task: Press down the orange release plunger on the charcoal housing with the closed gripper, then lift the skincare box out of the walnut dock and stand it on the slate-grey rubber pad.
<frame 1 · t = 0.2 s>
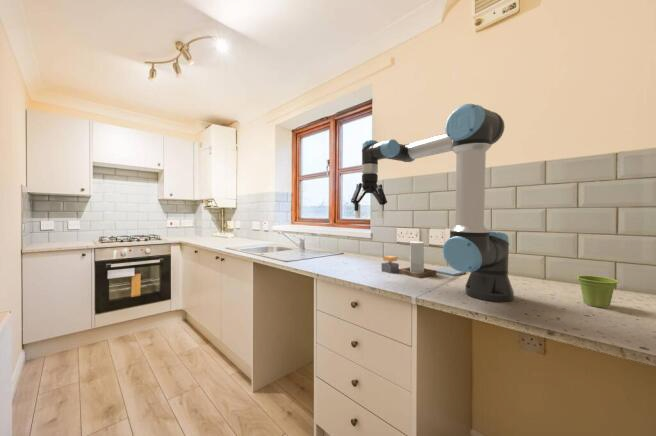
hand: (369, 217, 131), 27 cm above the countertop, tool pointing down, fingers open, 13 cm apart
walnut dock: (416, 273, 134), on the countertop
plant pot: (596, 305, 89), on the countertop
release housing: (390, 271, 139), on the countertop
skincare box: (416, 273, 134), resting in walnut dock
rubber pad: (449, 272, 136), on the countertop
plunger: (390, 262, 139), point 4 cm above the countertop, slide at 0.0 cm
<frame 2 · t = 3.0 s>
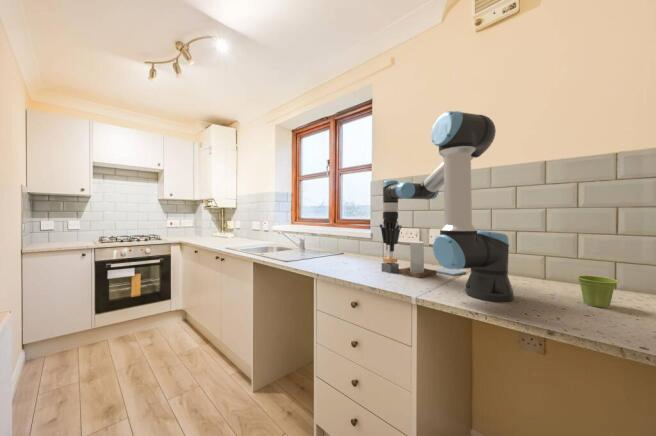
hand: (390, 257, 139), 7 cm above the countertop, tool pointing down, fingers closed
plunger: (390, 263, 139), point 4 cm above the countertop, slide at 0.8 cm, touching gripper
everything else where it was.
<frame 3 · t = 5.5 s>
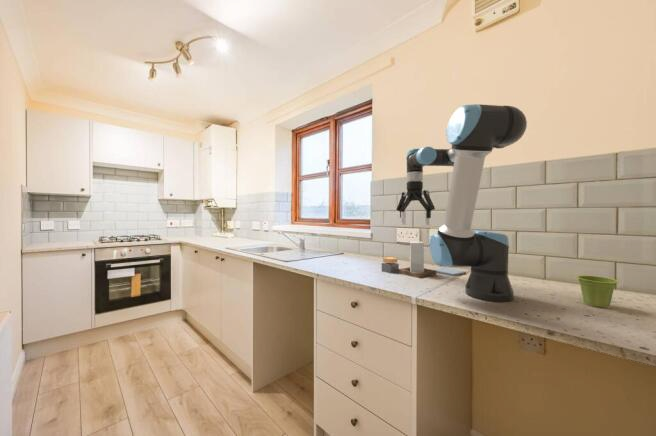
hand: (414, 224, 133), 24 cm above the countertop, tool pointing down, fingers open, 13 cm apart
plunger: (390, 264, 139), point 4 cm above the countertop, slide at 0.8 cm
everything else where it was.
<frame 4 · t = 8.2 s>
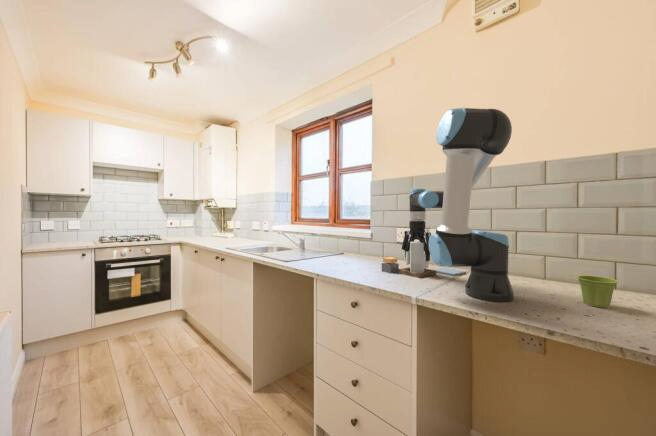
hand: (416, 265, 134), 4 cm above the countertop, tool pointing down, fingers closed on skincare box, 10 cm apart
skincare box: (416, 273, 134), resting in walnut dock, touching gripper
everything else where it was.
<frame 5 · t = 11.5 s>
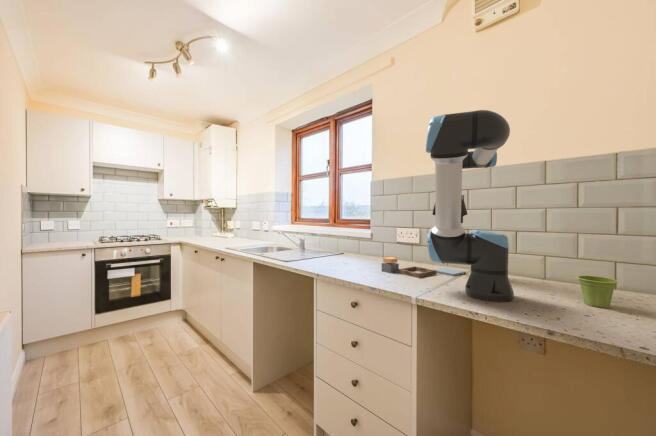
hand: (448, 229, 135), 22 cm above the countertop, tool pointing down, fingers closed on skincare box, 10 cm apart
skincare box: (448, 237, 136), point 17 cm above the countertop, touching gripper
everything else where it was.
when the fingers open (6 cm above the countertop, at t = 15.0 s): skincare box drops 1 cm, resting on rubber pad.
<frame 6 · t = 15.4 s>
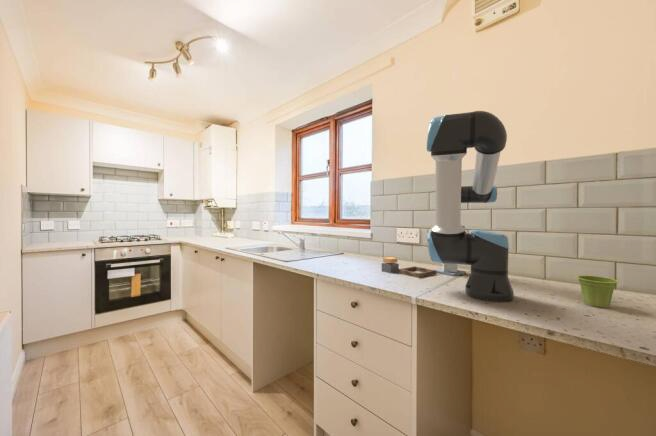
hand: (449, 258, 136), 7 cm above the countertop, tool pointing down, fingers open, 13 cm apart
skincare box: (449, 271, 136), point 1 cm above the countertop, touching rubber pad
everything else where it was.
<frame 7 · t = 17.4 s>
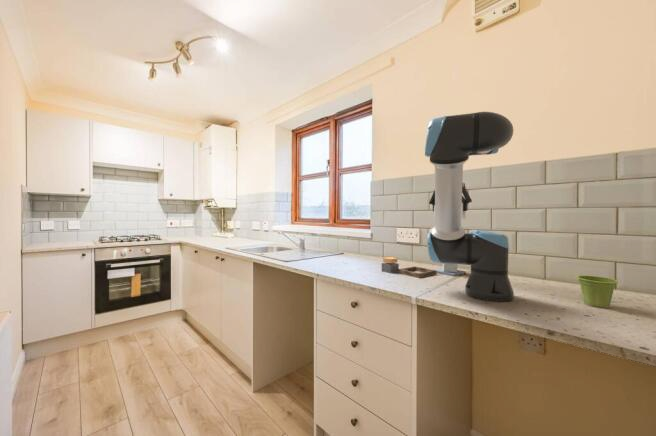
hand: (449, 218, 129), 27 cm above the countertop, tool pointing down, fingers open, 13 cm apart
nothing on the countertop moved.
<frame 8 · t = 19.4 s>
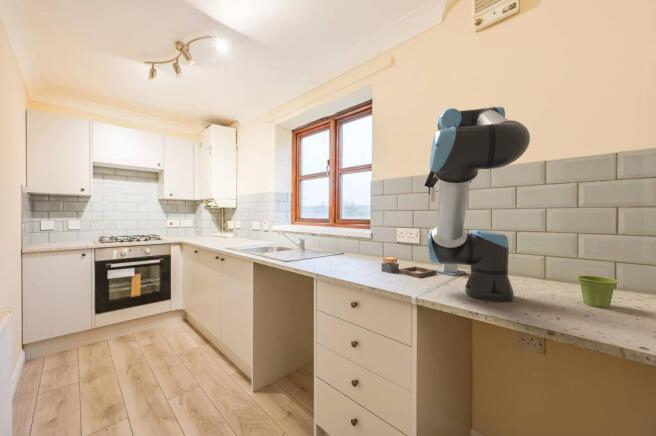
hand: (446, 201, 117), 35 cm above the countertop, tool pointing down, fingers open, 13 cm apart
nothing on the countertop moved.
at the end: plunger slide at 0.8 cm; skincare box inside the target area on the rubber pad (0.1 cm from its centre), point 0.8 cm above the rubber pad's base; skincare box tilted 0° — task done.
